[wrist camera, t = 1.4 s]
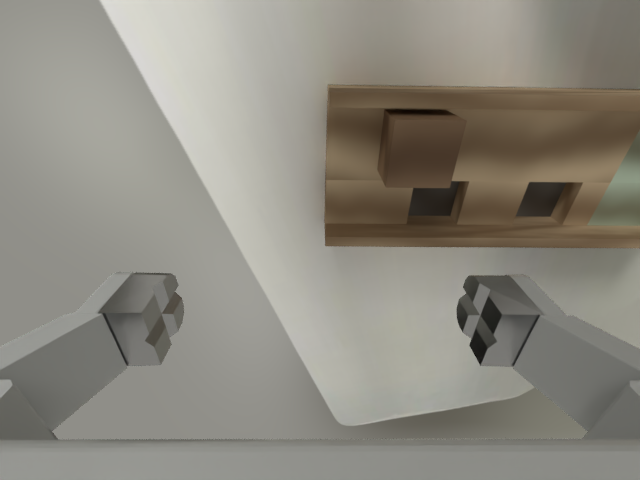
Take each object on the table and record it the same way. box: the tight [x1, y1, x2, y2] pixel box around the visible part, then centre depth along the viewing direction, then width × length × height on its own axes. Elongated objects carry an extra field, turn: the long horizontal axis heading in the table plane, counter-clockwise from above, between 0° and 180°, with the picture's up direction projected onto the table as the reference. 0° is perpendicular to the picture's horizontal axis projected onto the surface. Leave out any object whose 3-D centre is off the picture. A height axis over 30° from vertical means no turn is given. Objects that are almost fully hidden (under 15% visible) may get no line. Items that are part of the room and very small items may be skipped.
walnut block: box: [377, 109, 467, 188], centre depth 24 cm, size 5×5×4 cm
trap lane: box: [324, 85, 640, 248], centre depth 27 cm, size 13×33×4 cm, turn 89°
